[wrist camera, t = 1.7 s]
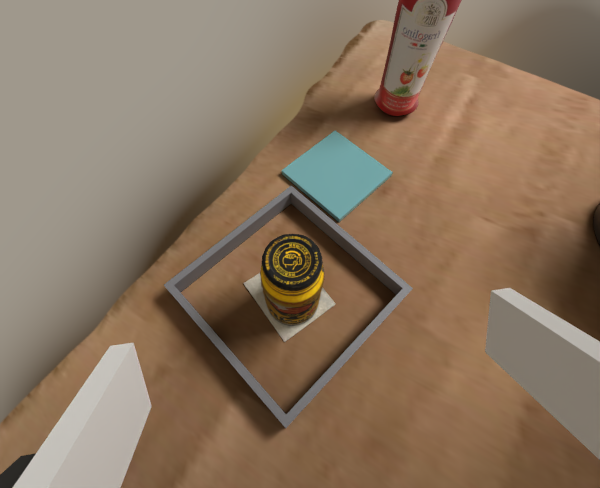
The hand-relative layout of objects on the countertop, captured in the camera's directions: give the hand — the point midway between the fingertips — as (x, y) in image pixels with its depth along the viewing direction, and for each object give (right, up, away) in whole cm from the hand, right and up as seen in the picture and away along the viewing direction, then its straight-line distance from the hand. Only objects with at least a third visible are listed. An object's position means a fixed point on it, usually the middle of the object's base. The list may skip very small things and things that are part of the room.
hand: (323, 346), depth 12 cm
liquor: (+14, +26, +42) cm, 52 cm away
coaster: (+4, +14, +36) cm, 38 cm away
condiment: (-2, -2, +28) cm, 28 cm away
